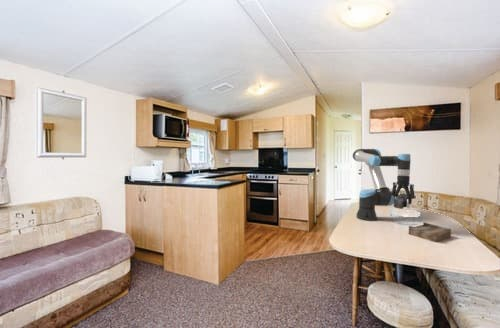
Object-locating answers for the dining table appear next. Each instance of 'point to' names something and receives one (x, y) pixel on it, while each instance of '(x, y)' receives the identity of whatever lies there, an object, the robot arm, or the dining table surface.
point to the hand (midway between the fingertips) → (402, 206)
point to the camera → (400, 201)
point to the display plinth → (430, 232)
